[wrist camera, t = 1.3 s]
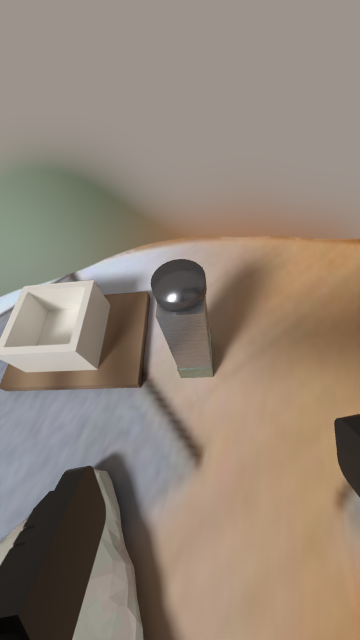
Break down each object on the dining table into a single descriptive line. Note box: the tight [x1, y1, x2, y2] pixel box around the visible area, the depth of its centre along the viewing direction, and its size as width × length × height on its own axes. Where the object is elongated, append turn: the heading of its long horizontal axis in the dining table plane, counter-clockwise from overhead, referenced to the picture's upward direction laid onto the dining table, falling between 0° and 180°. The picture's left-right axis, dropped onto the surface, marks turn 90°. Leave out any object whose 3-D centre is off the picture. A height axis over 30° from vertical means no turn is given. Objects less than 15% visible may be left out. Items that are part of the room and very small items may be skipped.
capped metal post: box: [151, 259, 213, 378], centre depth 22 cm, size 4×4×13 cm
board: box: [0, 292, 150, 391], centre depth 30 cm, size 16×12×1 cm
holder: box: [0, 280, 110, 372], centre depth 28 cm, size 9×9×5 cm
